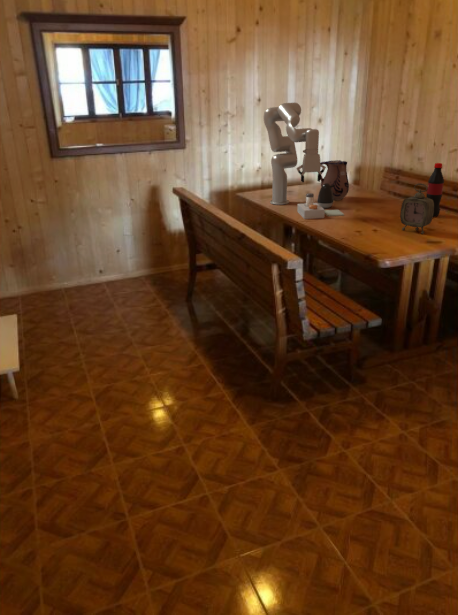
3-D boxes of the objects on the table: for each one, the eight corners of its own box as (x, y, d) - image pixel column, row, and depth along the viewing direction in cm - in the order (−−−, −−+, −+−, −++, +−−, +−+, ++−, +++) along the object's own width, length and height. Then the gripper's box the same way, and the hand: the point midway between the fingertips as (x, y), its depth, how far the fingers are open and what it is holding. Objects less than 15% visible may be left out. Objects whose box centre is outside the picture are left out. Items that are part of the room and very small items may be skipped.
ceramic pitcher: (350, 201, 334) (353, 162, 324) (318, 202, 335) (320, 163, 325) (345, 196, 350) (347, 159, 340) (314, 196, 351) (316, 159, 341)
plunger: (307, 214, 302) (307, 204, 300) (315, 214, 303) (316, 204, 300) (309, 216, 298) (309, 206, 295) (317, 216, 298) (318, 206, 296)
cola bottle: (438, 214, 298) (446, 162, 285) (439, 217, 290) (447, 164, 278) (423, 213, 300) (430, 161, 288) (423, 217, 293) (430, 164, 281)
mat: (322, 211, 311) (322, 210, 311) (338, 210, 312) (338, 209, 312) (327, 216, 300) (327, 215, 300) (344, 215, 301) (344, 214, 301)
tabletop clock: (398, 230, 269) (403, 183, 259) (406, 227, 275) (412, 180, 264) (424, 235, 259) (431, 186, 249) (432, 231, 265) (439, 183, 255)
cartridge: (304, 213, 310) (305, 193, 305) (311, 212, 310) (312, 193, 305) (306, 214, 306) (307, 194, 301) (313, 214, 306) (314, 194, 301)
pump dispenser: (333, 209, 316) (334, 184, 310) (316, 209, 318) (317, 184, 312) (333, 205, 325) (335, 181, 319) (317, 205, 327) (318, 181, 321)
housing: (297, 211, 313) (297, 203, 311) (316, 210, 314) (316, 202, 312) (304, 218, 296) (304, 210, 294) (324, 217, 297) (324, 209, 295)
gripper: (298, 153, 289) (297, 183, 296) (328, 151, 290) (326, 182, 297) (295, 151, 296) (295, 181, 302) (324, 150, 297) (323, 179, 304)
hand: (310, 181), depth 300 cm, fingers open, 9 cm apart
